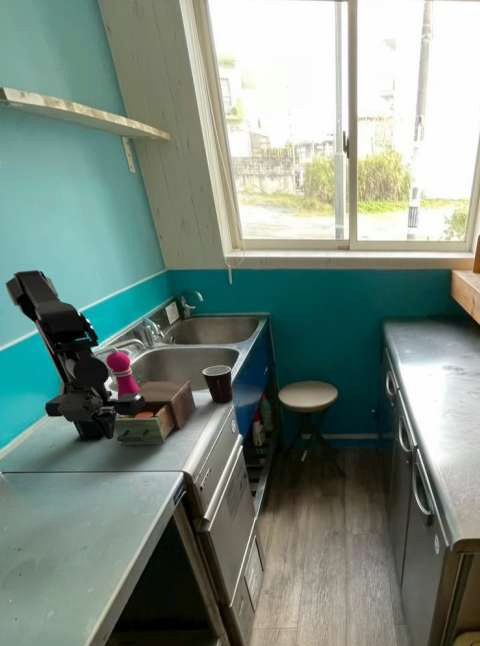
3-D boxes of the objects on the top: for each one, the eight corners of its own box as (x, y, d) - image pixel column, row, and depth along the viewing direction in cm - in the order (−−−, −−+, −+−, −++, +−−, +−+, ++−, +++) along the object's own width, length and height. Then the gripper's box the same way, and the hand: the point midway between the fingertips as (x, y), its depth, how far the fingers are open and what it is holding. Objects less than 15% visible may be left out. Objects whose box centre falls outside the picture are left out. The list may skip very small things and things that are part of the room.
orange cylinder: (161, 427, 109) (155, 411, 107) (152, 437, 105) (146, 420, 102) (145, 427, 109) (139, 411, 107) (136, 437, 105) (129, 421, 102)
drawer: (157, 453, 100) (148, 428, 96) (112, 454, 100) (101, 429, 96) (182, 420, 115) (175, 397, 111) (143, 421, 115) (134, 398, 111)
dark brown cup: (216, 393, 134) (210, 365, 128) (240, 394, 133) (235, 366, 127) (200, 408, 124) (192, 378, 119) (226, 409, 123) (219, 379, 118)
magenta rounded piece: (142, 416, 120) (119, 351, 109) (118, 416, 120) (93, 351, 109) (152, 406, 126) (132, 343, 115) (130, 406, 126) (107, 343, 115)
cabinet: (179, 430, 112) (171, 400, 107) (135, 431, 112) (124, 401, 107) (196, 408, 124) (188, 380, 119) (156, 408, 124) (147, 381, 119)
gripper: (10, 389, 74) (47, 458, 83) (109, 387, 75) (136, 456, 84) (47, 369, 84) (77, 433, 92) (135, 367, 84) (156, 431, 93)
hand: (110, 438), depth 90 cm, fingers closed
